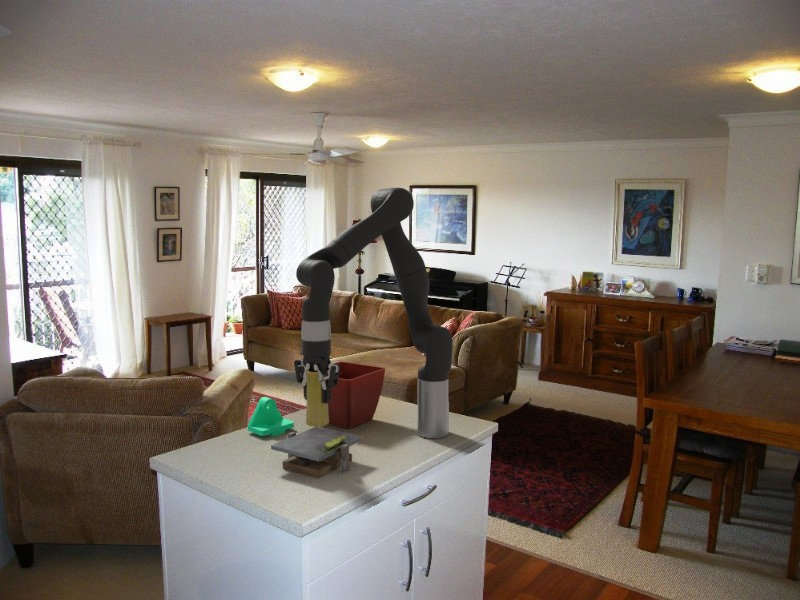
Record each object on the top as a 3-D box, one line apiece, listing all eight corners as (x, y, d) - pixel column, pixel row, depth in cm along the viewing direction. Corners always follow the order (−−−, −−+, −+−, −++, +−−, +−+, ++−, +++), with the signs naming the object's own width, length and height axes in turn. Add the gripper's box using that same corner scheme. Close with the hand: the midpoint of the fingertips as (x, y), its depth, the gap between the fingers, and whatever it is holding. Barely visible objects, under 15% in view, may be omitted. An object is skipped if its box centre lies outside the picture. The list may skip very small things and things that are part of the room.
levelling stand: (307, 450, 185) (307, 425, 184) (363, 463, 175) (362, 438, 174) (272, 465, 174) (271, 439, 173) (329, 481, 163) (329, 454, 162)
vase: (306, 419, 176) (305, 367, 174) (329, 419, 176) (328, 367, 174) (305, 427, 170) (304, 372, 168) (329, 426, 170) (328, 372, 168)
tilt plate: (316, 429, 185) (316, 420, 185) (362, 440, 177) (362, 430, 176) (271, 449, 170) (270, 439, 170) (319, 461, 162) (318, 451, 162)
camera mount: (262, 439, 194) (261, 405, 193) (247, 433, 200) (246, 400, 198) (295, 430, 203) (294, 398, 202) (280, 425, 208) (280, 393, 207)
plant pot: (302, 423, 209) (301, 371, 207) (341, 409, 225) (341, 360, 223) (349, 434, 199) (349, 379, 197) (387, 418, 214) (386, 368, 212)
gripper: (347, 337, 169) (347, 401, 172) (304, 332, 177) (305, 393, 179) (328, 342, 163) (329, 408, 165) (285, 336, 171) (286, 400, 173)
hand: (317, 400), depth 172 cm, fingers closed on vase, 5 cm apart
